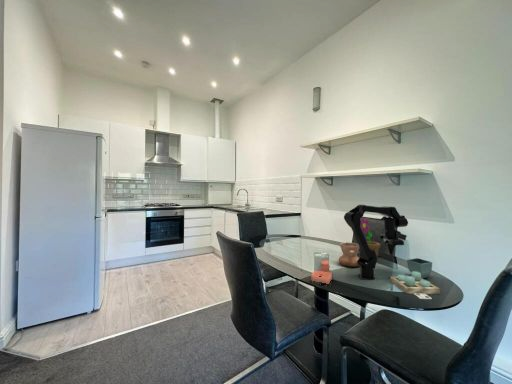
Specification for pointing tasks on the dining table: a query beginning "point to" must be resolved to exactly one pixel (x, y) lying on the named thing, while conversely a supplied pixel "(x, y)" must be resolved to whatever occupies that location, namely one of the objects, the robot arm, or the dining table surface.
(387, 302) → the dining table surface
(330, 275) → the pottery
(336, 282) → the dining table surface
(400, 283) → the board
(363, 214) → the robot arm
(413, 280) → the button
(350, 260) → the ceramic jug
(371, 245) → the flowerpot
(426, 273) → the flower pot
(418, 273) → the button
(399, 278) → the button
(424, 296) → the card
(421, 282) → the button
